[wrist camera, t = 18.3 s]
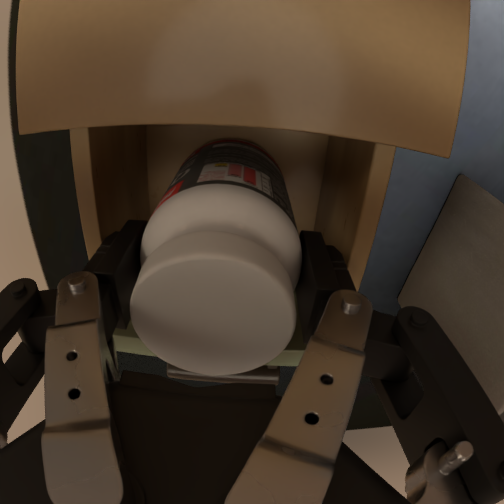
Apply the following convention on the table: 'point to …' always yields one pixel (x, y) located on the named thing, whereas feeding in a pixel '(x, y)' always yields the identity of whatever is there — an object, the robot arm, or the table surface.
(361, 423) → the table surface
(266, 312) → the pill bottle
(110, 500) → the robot arm
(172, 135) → the drawer
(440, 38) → the cabinet
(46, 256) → the table surface
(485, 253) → the planter
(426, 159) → the table surface
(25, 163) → the table surface
